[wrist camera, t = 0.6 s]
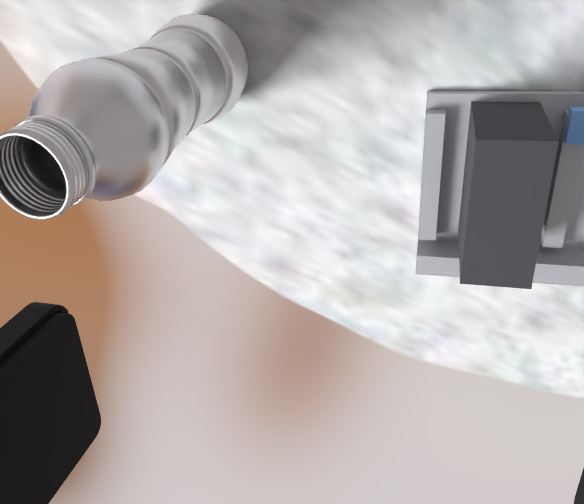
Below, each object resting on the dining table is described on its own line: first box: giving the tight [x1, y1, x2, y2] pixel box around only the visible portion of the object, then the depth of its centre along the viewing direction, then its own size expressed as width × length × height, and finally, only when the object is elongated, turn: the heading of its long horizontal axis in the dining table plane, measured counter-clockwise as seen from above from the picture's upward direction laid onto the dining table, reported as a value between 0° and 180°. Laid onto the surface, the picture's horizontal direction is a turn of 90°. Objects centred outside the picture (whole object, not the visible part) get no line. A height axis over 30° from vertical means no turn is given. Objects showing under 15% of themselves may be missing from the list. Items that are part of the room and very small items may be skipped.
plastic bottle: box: [0, 14, 248, 219], centre depth 30 cm, size 6×7×20 cm
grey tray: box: [416, 91, 584, 286], centre depth 36 cm, size 12×18×3 cm, turn 94°
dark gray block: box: [458, 102, 559, 289], centre depth 34 cm, size 9×4×7 cm, turn 4°
